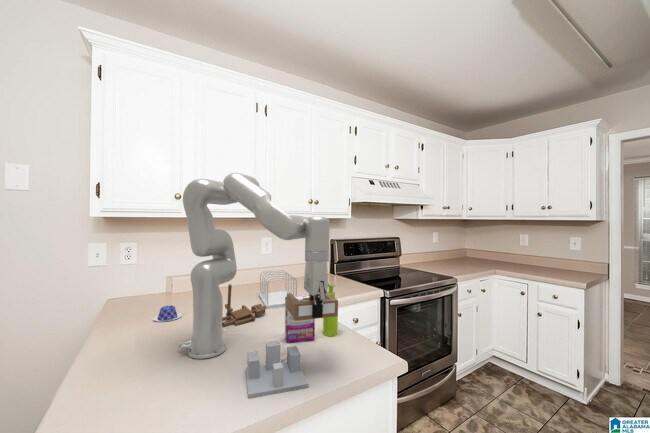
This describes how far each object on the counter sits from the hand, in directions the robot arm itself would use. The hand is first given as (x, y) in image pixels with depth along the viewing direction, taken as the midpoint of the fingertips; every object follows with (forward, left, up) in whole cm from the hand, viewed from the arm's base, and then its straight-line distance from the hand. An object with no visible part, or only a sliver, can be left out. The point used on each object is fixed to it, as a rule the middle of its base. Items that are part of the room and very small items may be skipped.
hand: (315, 314), depth 88 cm
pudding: (-52, +64, -17) cm, 85 cm away
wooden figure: (-19, +50, -17) cm, 56 cm away
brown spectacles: (0, +5, -1) cm, 5 cm away
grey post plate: (-12, -2, -17) cm, 21 cm away
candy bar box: (+1, +23, -17) cm, 29 cm away
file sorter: (+1, +78, -17) cm, 79 cm away
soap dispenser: (+14, +25, -17) cm, 33 cm away
